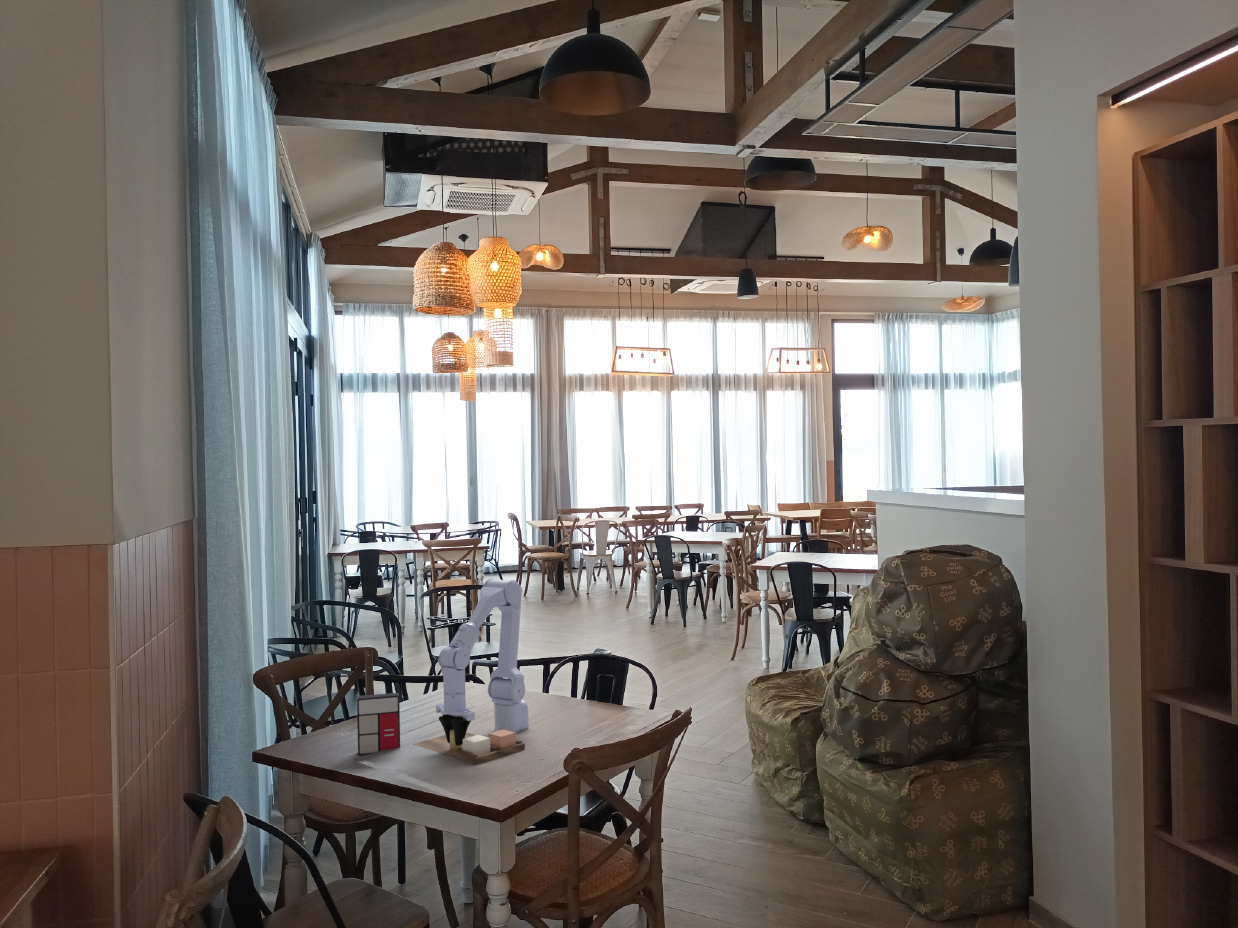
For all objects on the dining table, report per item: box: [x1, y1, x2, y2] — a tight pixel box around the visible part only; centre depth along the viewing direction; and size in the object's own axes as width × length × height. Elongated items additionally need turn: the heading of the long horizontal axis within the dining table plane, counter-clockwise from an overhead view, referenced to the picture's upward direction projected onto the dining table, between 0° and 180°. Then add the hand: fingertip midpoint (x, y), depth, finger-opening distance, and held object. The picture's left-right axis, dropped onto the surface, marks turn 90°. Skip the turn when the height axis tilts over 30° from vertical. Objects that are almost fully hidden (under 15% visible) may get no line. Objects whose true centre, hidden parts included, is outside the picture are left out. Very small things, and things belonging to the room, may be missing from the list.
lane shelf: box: [413, 731, 526, 765], centre depth 235 cm, size 16×28×3 cm, turn 47°
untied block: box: [488, 729, 517, 749], centre depth 231 cm, size 5×5×4 cm
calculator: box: [356, 692, 401, 756], centre depth 236 cm, size 11×4×15 cm, turn 105°
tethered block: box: [450, 729, 490, 756], centre depth 229 cm, size 5×13×5 cm, turn 47°
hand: (455, 743), depth 233 cm, fingers closed on tethered block, 3 cm apart
